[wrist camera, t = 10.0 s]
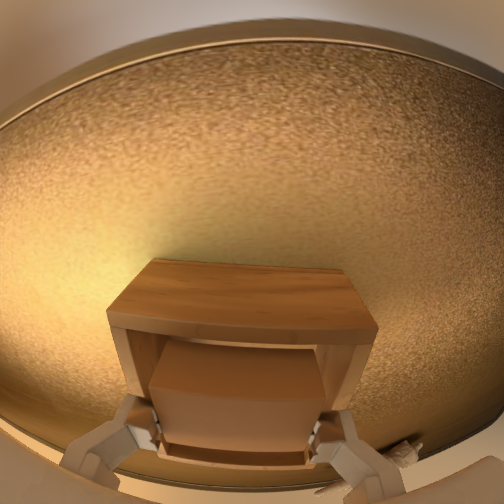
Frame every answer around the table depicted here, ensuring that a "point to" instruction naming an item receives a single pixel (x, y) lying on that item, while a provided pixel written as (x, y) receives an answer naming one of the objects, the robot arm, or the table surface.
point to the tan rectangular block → (237, 396)
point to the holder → (243, 332)
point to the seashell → (397, 456)
